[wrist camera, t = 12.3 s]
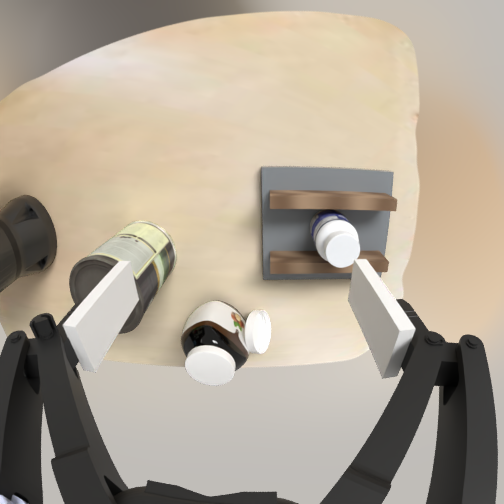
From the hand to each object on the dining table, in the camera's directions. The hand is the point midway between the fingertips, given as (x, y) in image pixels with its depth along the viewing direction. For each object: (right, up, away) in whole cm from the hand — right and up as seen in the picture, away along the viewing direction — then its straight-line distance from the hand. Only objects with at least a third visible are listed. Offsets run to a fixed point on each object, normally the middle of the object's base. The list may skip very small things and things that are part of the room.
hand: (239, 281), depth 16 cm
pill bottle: (+11, +5, +22) cm, 25 cm away
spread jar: (-2, -9, +30) cm, 32 cm away
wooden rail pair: (+11, +5, +22) cm, 25 cm away
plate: (+11, +6, +23) cm, 26 cm away
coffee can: (-16, +2, +26) cm, 31 cm away
